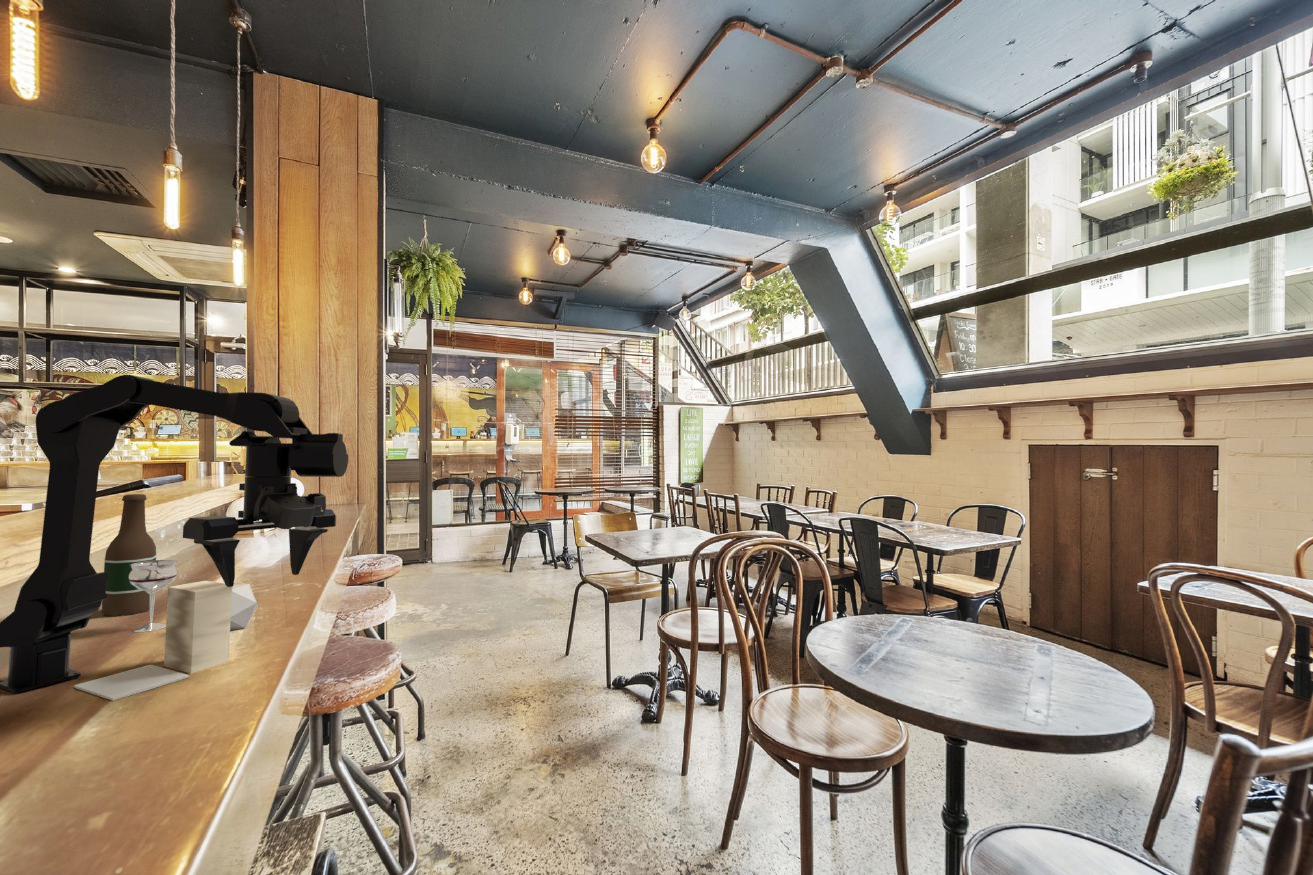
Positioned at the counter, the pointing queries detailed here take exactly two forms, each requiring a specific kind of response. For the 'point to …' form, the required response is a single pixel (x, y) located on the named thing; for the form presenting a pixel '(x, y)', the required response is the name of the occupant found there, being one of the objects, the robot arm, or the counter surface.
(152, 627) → the wineglass
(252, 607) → the die
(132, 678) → the mat
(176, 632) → the birch block
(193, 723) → the counter surface
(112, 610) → the beer bottle
